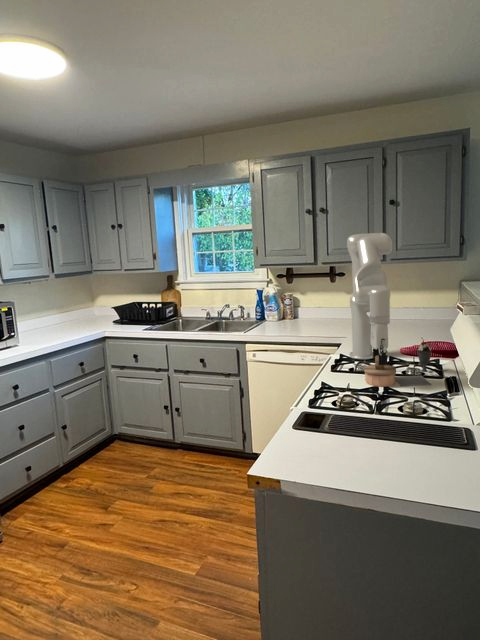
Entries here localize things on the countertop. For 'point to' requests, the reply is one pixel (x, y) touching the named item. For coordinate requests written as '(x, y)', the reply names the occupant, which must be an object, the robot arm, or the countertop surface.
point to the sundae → (424, 355)
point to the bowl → (380, 380)
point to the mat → (411, 381)
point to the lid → (379, 369)
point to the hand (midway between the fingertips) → (379, 361)
